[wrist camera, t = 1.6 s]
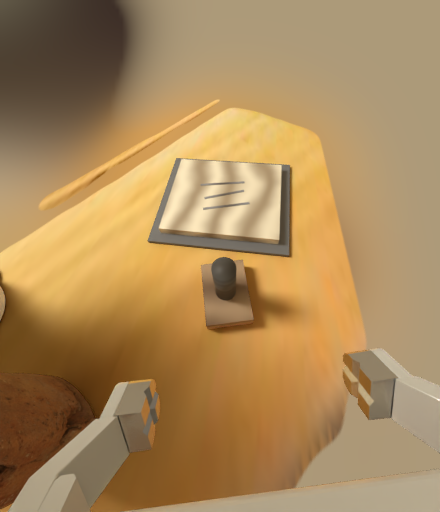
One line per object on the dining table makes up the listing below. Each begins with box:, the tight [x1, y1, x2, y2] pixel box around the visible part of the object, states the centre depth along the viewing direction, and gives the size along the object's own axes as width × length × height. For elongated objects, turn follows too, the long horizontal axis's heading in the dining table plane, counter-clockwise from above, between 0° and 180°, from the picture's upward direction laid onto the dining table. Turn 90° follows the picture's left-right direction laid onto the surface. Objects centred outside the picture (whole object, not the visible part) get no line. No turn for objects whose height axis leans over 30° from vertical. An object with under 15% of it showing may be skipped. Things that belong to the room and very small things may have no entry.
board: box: [159, 159, 282, 244], centre depth 47 cm, size 22×19×2 cm
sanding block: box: [201, 257, 254, 329], centre depth 34 cm, size 10×7×10 cm
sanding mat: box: [148, 158, 290, 257], centre depth 48 cm, size 26×23×1 cm
